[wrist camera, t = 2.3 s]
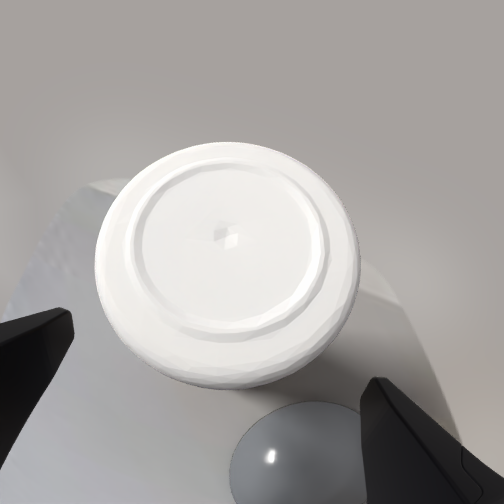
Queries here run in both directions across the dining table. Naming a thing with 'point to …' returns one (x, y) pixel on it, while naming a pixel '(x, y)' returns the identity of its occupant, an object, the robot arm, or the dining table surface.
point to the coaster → (301, 457)
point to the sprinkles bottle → (227, 265)
